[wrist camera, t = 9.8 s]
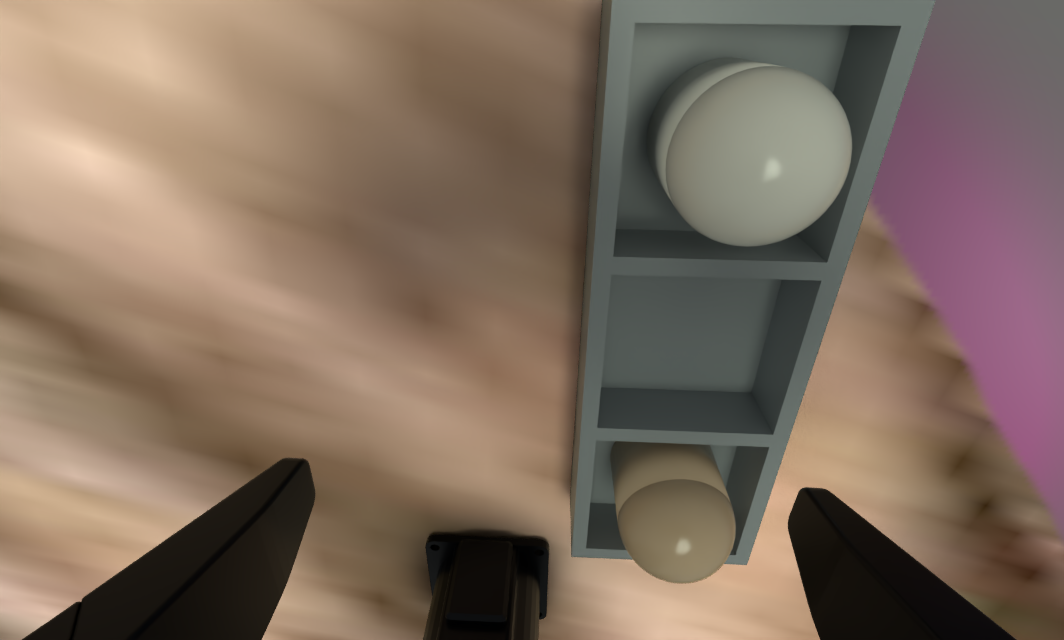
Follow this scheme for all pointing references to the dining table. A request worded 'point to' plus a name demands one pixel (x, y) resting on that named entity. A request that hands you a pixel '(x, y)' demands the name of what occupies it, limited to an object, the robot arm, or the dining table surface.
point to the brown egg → (672, 509)
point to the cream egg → (749, 150)
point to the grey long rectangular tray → (715, 250)
